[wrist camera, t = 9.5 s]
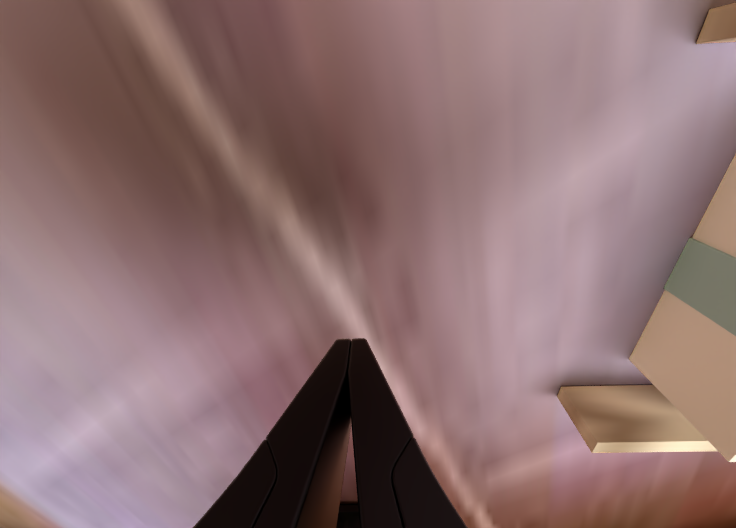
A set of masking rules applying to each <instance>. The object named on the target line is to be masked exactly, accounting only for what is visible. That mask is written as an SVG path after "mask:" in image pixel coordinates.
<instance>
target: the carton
mask: <svg viewBox="0 0 736 528" xmlns="http://www.w3.org/2000/svg"><path fill="white" fill-rule="evenodd" d="M664 289H665V291H664V293H663V294H662V296H661V298H660V300H659V302H658V304H657V306H656V308H655V310H654V312H653V314H652V316H651V318H650V319H649V321H648V323H647V325H646V327H645V329H644V331H643V333H642V335H641V337H640V339H639V341H638V343H637V344H636V346H635V348H634V350H633V352H632V354H631V356H630V358H629V360H630V361H631V362H632V363H633V364H634V365H635V366H636V367H637V368H638V369H639V370H640V372H641V373H642V374H643V375H644V376H645V377H646V378H647V379H648V380H649V381H650V382H651V383H652V384H653V385H654V386H655V387H656V388H657V389H658V390H659V391H660V392H661V393H662V394H663V395H664V396H665V397H666V398H667V399H668V400H669V401H670V402H671V403H672V404H673V405H674V406H675V407H676V408H677V409H678V411H679V412H680V413H681V414H682V415H683V416H684V417H685V418H686V419H687V420H688V421H689V422H690V423H691V424H692V425H693V426H694V427H695V428H696V429H697V430H698V431H699V432H700V433H701V434H702V435H703V436H704V437H705V438H706V439H707V440H708V441H709V442H710V443H711V444H712V445H713V446H714V447H715V448H716V449H717V451H718V452H719V453H720V454H721V455H722V456H723V457H724V458H725V459H726V460H727V461H728V462H736V154H735V156H734V158H733V160H732V162H731V164H730V166H729V167H728V169H727V171H726V173H725V175H724V177H723V179H722V181H721V183H720V185H719V187H718V189H717V191H716V192H715V194H714V196H713V198H712V200H711V202H710V204H709V206H708V208H707V210H706V212H705V214H704V216H703V217H702V219H701V221H700V223H699V225H698V227H697V229H696V231H695V233H694V235H693V237H692V238H689V240H688V241H687V243H686V245H685V247H684V249H683V251H682V253H681V255H680V257H679V259H678V261H677V263H676V265H675V267H674V269H673V271H672V273H671V274H670V276H669V278H668V280H667V282H666V284H665V286H664Z"/></svg>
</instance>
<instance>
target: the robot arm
mask: <svg viewBox="0 0 736 528" xmlns="http://www.w3.org/2000/svg"><path fill="white" fill-rule="evenodd" d="M351 423H352V435H353V448H354V460H355V472H356V484H357V496H358V505H340V498H341V491H342V484H343V477H344V470H345V463H346V456H347V449H348V443H349V436H350V429H351ZM193 528H467V526H466V525H465V523H464V522H463V520H462V519H461V517H460V516H459V514H458V512H457V511H456V509H455V508H454V506H453V505H452V503H451V502H450V500H449V499H448V497H447V495H446V494H445V492H444V490H443V489H442V487H441V485H440V484H439V482H438V480H437V479H436V477H435V475H434V474H433V472H432V470H431V468H430V466H429V464H428V462H427V461H426V459H425V457H424V455H423V453H422V451H421V449H420V447H419V445H418V443H417V441H416V439H415V438H413V433H412V431H411V429H410V427H409V425H408V423H407V421H406V419H405V417H404V415H403V413H402V411H401V409H400V407H399V405H398V403H397V401H396V399H395V397H394V395H393V393H392V391H391V389H390V387H389V385H388V383H387V381H386V378H385V376H384V374H383V372H382V370H381V368H380V366H379V364H378V362H377V360H376V358H375V356H374V354H373V352H372V350H371V348H370V346H369V344H368V342H367V340H366V339H364V338H359V339H352V341H351V340H350V339H337V340H336V341H335V342H334V344H333V345H332V347H331V348H330V349H329V351H328V352H327V354H326V355H325V356H324V358H323V359H322V360H321V362H320V363H319V365H318V366H317V367H316V369H315V370H314V372H313V373H312V374H311V376H310V377H309V378H308V380H307V381H306V383H305V384H304V385H303V387H302V388H301V390H300V391H299V392H298V394H297V395H296V396H295V398H294V399H293V401H292V402H291V403H290V405H289V406H288V408H287V409H286V410H285V412H284V413H283V414H282V416H281V417H280V419H279V420H278V421H277V423H276V424H275V426H274V427H273V428H272V430H271V431H270V432H269V434H268V435H267V437H266V440H264V441H263V442H262V443H261V445H260V446H259V448H258V449H257V450H256V452H255V453H254V454H253V456H252V457H251V458H250V460H249V461H248V462H247V464H246V465H245V466H244V468H243V469H242V470H241V472H240V473H239V474H238V476H237V477H236V478H235V479H234V480H233V482H232V483H231V484H230V485H229V486H228V488H227V489H226V490H225V491H224V492H223V494H222V495H221V496H220V497H219V498H218V499H217V501H216V502H215V503H214V504H213V505H212V506H211V508H210V509H209V510H208V511H207V512H206V513H205V515H204V516H203V517H202V518H201V519H200V520H199V521H198V523H197V524H196V525H195V526H194V527H193Z"/></svg>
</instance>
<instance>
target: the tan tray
mask: <svg viewBox="0 0 736 528" xmlns="http://www.w3.org/2000/svg"><path fill="white" fill-rule="evenodd" d="M722 42H736V3H732V4H728V5H724V6H720V7H717V8H713V9H710V10H709V12H708V15H707V17H706V20H705V22H704V25H703V28H702V30H701V33H700V35H699V38H698V40H697V43H696V44H702V43H722ZM557 397H558V399H559V400H560V402H561V404H562V405H563V407H564V408H565V410H566V412H567V413H568V415H569V417H570V418H571V420H572V421H573V423H574V425H575V426H576V428H577V429H578V431H579V433H580V434H581V436H582V438H583V439H584V441H585V442H586V444H587V446H588V447H589V449H590V450H591V452H592V453H619V452H689V451H717V449H716V448H715V447H714V446H713V445H712V444H711V443H710V442H709V441H708V440H707V439H706V438H705V437H704V436H703V435H702V434H701V433H700V432H699V431H698V430H697V429H696V428H695V427H694V426H693V425H692V424H691V423H690V422H689V421H688V420H687V419H686V418H685V417H684V416H683V415H682V414H681V413H680V412H679V411H678V409H677V408H676V407H675V406H674V405H673V404H672V403H671V402H670V401H669V400H668V399H667V398H666V397H665V396H664V395H663V394H662V393H661V392H660V391H659V390H658V389H657V388H656V387H655V386H654V385H622V386H572V387H561V388H560V391H559V393H558V396H557Z"/></svg>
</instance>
